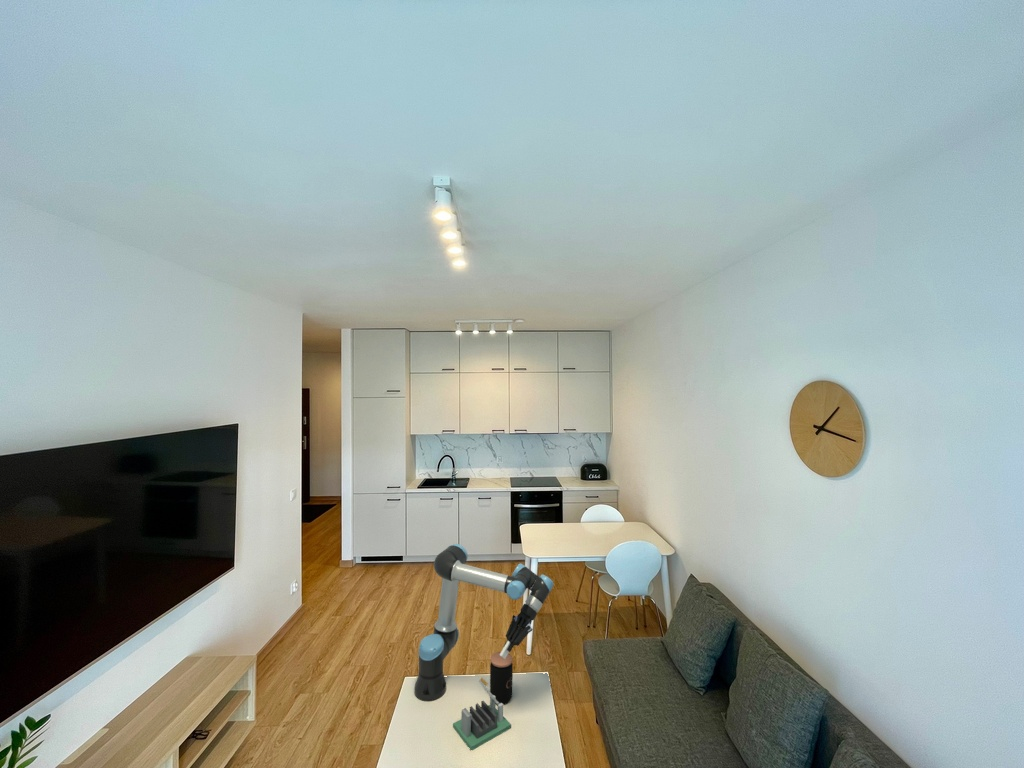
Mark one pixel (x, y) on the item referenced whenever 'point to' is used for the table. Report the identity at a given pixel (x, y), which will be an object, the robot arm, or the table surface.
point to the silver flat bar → (488, 690)
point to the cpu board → (481, 724)
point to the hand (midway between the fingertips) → (502, 656)
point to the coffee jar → (501, 677)
